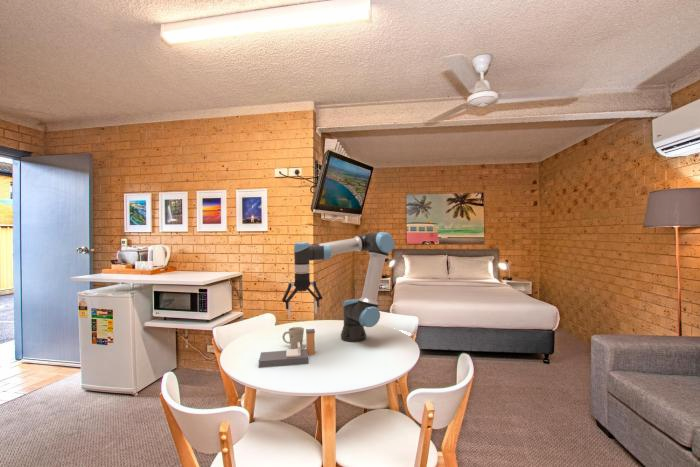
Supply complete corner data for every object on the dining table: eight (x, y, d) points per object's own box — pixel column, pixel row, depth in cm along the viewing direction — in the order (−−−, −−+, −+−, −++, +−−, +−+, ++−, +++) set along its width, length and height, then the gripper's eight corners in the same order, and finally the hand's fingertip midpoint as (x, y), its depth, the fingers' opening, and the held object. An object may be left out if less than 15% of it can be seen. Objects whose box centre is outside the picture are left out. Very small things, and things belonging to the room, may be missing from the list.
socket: (306, 354, 168) (306, 348, 168) (308, 363, 156) (308, 357, 156) (261, 358, 164) (260, 352, 164) (258, 367, 152) (258, 361, 152)
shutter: (299, 350, 166) (299, 341, 166) (300, 356, 157) (300, 347, 157) (286, 351, 165) (286, 342, 165) (286, 357, 156) (286, 348, 156)
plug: (314, 351, 173) (314, 328, 173) (315, 354, 168) (314, 331, 169) (306, 352, 172) (305, 329, 172) (306, 355, 168) (306, 331, 168)
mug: (300, 350, 175) (300, 331, 175) (279, 348, 178) (279, 330, 178) (306, 345, 183) (305, 327, 183) (285, 343, 186) (285, 326, 186)
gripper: (324, 270, 172) (324, 310, 172) (276, 273, 165) (276, 315, 164) (327, 272, 165) (328, 314, 165) (277, 274, 157) (278, 318, 157)
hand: (302, 314), depth 165 cm, fingers open, 13 cm apart
